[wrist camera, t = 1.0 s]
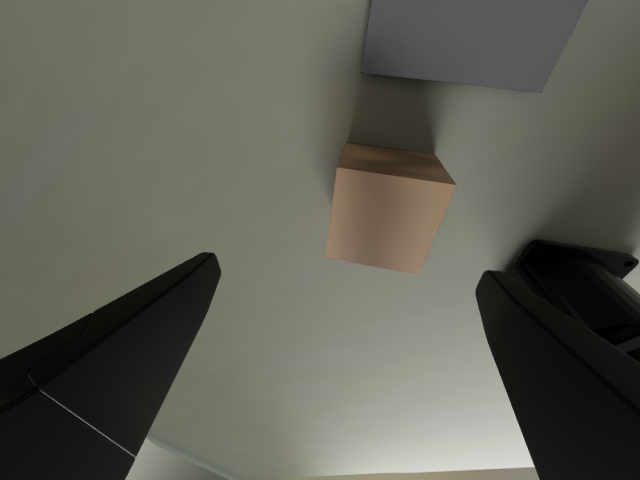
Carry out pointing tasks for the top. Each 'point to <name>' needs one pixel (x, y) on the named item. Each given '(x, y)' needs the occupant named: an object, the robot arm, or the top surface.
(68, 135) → the top surface
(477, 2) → the plate
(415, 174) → the light brown cube-like block
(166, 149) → the top surface
